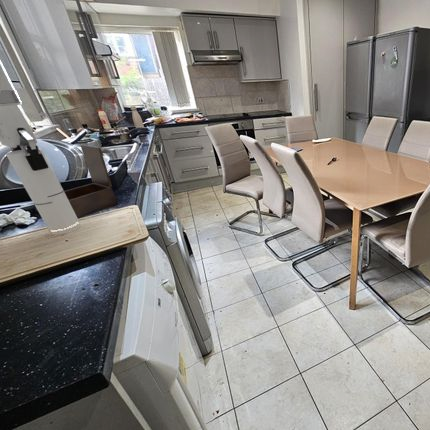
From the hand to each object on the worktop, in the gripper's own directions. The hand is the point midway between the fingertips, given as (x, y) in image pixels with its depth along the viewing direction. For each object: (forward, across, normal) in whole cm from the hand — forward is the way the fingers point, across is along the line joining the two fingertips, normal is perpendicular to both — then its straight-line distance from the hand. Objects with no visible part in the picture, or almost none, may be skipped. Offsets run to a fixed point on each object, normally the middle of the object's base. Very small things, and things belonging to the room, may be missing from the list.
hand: (34, 167), depth 75 cm
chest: (+20, -15, +12) cm, 28 cm away
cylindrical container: (+21, 0, 0) cm, 21 cm away
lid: (+6, -15, +19) cm, 25 cm away
